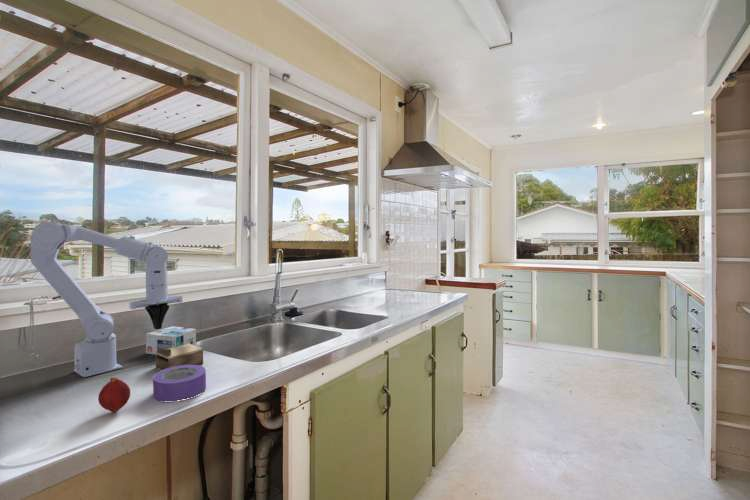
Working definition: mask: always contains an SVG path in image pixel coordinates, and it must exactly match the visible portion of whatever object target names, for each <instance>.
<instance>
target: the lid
mask: <svg viewBox="0 0 750 500" xmlns="http://www.w3.org/2000/svg"><path fill="white" fill-rule="evenodd" d="M199 351H203V352H204V348H202V347H200V346H197V345H196V346H194V345H192V344H186V345H182V346H177V347H173V348H166V347H163V346H157V351H156V354H158V355H160V356H162V357H165V358H167V359H173V358H177V357H180V356H184V355H188V354H192V353H196V352H199Z"/></svg>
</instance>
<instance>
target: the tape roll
mask: <svg viewBox="0 0 750 500" xmlns="http://www.w3.org/2000/svg"><path fill="white" fill-rule="evenodd" d="M206 373H207V370H206V368H205V367H204V366H202V365H180V366H175V367H170V368H167V369H164V370H160V371H158V372H156V373H155V374H154V375H153V377H152V390H153V391H152V392H153V393H152V394H153V399H154V400H155V401H157V402H159V401H163V402H162V403H165V402H164V401H177V400H182V399H187V398H191V397H194V396H196V395H198V394H200V393H202V392H203V393H205V391H206V390H207V378H206V377H207V374H206ZM205 389H206V390H205ZM203 393H202V394H203ZM194 398H195V397H194Z"/></svg>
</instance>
